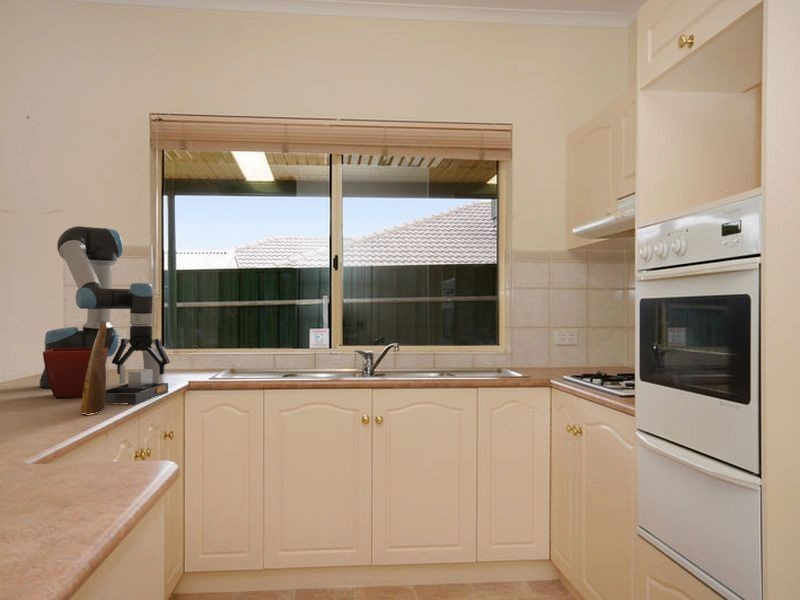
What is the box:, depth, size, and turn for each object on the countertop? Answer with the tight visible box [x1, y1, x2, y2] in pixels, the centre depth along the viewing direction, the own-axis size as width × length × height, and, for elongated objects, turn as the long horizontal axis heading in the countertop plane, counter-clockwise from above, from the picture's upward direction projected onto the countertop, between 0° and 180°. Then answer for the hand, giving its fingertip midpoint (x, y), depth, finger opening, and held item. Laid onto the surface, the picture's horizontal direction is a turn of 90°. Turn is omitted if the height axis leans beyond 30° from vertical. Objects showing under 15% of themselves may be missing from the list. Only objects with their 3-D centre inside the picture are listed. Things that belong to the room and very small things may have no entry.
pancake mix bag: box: [80, 321, 107, 414], centre depth 191 cm, size 7×19×28 cm, turn 16°
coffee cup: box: [141, 345, 166, 383], centre depth 260 cm, size 10×10×15 cm
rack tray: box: [105, 382, 169, 405], centre depth 218 cm, size 15×28×4 cm, turn 179°
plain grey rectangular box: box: [127, 368, 153, 388], centre depth 225 cm, size 4×10×8 cm, turn 179°
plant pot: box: [42, 347, 108, 398], centre depth 223 cm, size 19×19×17 cm
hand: (140, 383), depth 225 cm, fingers open, 13 cm apart
